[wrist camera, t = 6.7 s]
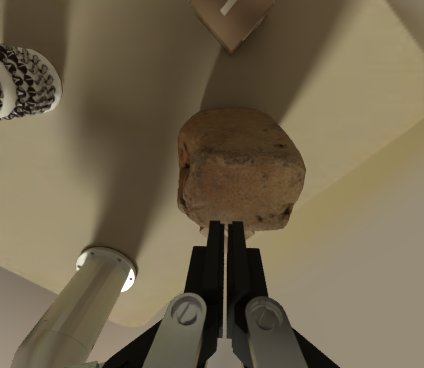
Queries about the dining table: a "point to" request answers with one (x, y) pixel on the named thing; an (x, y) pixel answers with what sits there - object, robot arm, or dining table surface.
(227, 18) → the walnut cube
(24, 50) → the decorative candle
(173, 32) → the dining table surface
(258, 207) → the block
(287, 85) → the dining table surface
